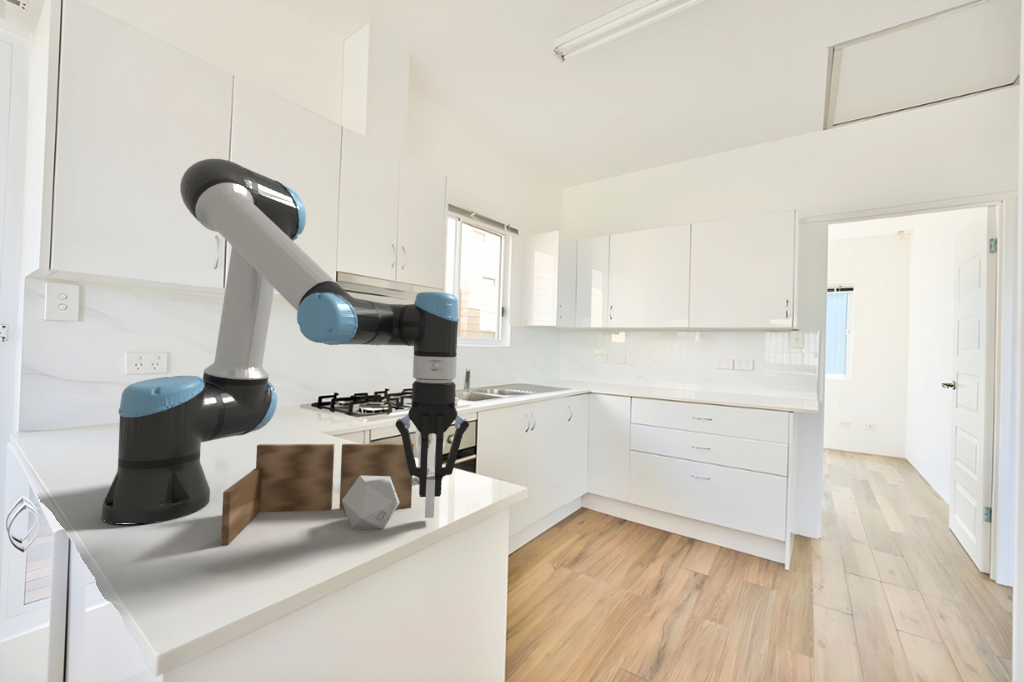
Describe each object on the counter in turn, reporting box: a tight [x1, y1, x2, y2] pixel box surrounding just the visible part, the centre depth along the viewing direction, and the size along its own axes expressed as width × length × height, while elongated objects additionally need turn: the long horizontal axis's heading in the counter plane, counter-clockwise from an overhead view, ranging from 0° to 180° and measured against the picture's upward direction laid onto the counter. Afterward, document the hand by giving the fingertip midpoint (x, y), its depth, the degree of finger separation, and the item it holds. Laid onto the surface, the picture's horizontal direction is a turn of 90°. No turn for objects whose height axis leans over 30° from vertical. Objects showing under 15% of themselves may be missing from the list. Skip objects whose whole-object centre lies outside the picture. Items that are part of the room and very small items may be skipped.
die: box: [342, 476, 399, 530], centre depth 76 cm, size 8×9×10 cm
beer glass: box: [415, 427, 447, 483], centre depth 103 cm, size 7×7×15 cm
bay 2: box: [338, 442, 415, 511], centre depth 84 cm, size 13×1×12 cm, turn 101°
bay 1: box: [220, 443, 335, 546], centre depth 75 cm, size 13×14×12 cm
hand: (429, 514), depth 78 cm, fingers closed
